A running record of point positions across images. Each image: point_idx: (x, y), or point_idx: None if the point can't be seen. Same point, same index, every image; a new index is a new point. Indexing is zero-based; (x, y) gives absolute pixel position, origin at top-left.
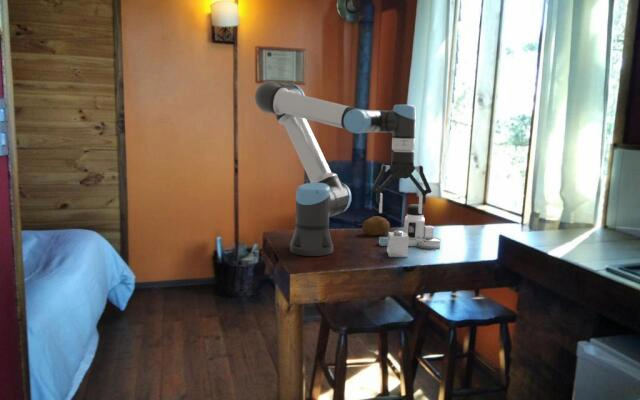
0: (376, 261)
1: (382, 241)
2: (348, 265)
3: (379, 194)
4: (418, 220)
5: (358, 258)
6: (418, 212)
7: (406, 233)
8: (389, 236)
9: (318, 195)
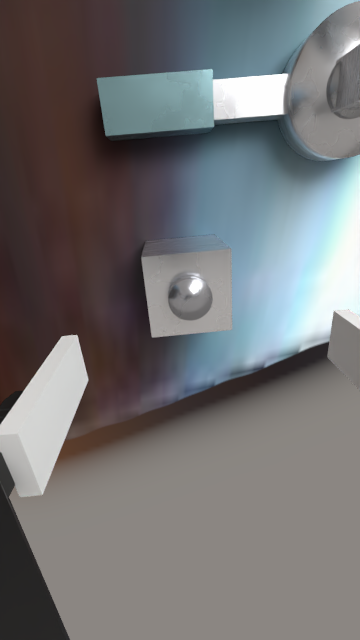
0: (116, 363)
1: (119, 136)
2: None
3: (9, 478)
4: None
5: None
6: (333, 319)
7: (230, 270)
8: (149, 318)
9: None
